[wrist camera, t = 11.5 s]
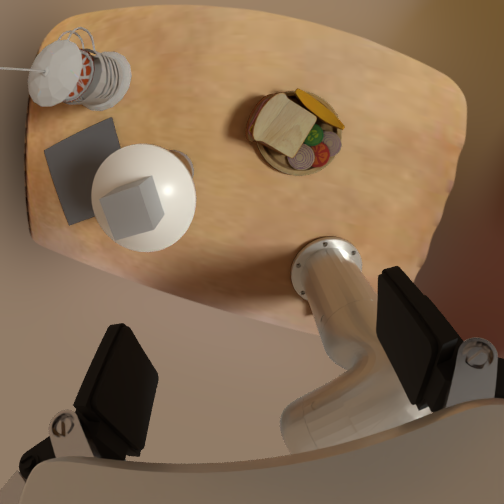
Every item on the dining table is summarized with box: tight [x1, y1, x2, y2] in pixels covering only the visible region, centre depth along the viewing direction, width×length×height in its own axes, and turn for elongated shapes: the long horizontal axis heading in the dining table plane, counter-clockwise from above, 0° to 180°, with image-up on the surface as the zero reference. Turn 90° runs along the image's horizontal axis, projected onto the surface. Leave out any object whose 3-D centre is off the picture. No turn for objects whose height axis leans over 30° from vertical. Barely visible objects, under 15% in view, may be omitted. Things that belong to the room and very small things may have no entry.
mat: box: [44, 117, 121, 225], centre depth 39 cm, size 14×14×1 cm
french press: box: [0, 27, 131, 111], centre depth 22 cm, size 10×12×25 cm
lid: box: [91, 144, 196, 252], centre depth 25 cm, size 11×11×5 cm
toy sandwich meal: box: [246, 89, 345, 176], centre depth 37 cm, size 12×14×5 cm
